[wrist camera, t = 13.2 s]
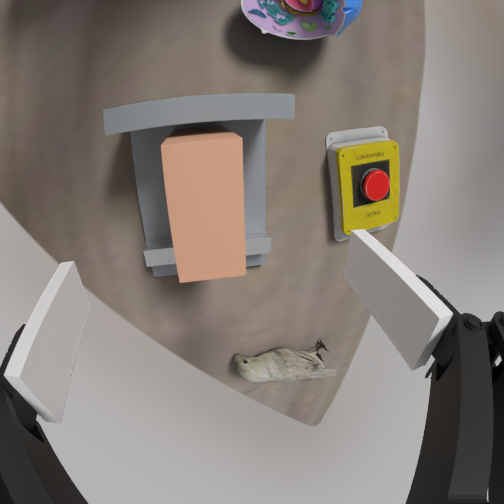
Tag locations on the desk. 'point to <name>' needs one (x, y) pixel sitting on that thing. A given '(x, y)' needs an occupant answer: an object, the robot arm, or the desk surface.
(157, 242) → the strip
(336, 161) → the emergency button
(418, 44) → the desk surface
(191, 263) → the cabinet block
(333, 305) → the desk surface
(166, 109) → the gray bracket stand
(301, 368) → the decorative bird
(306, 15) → the cell model
